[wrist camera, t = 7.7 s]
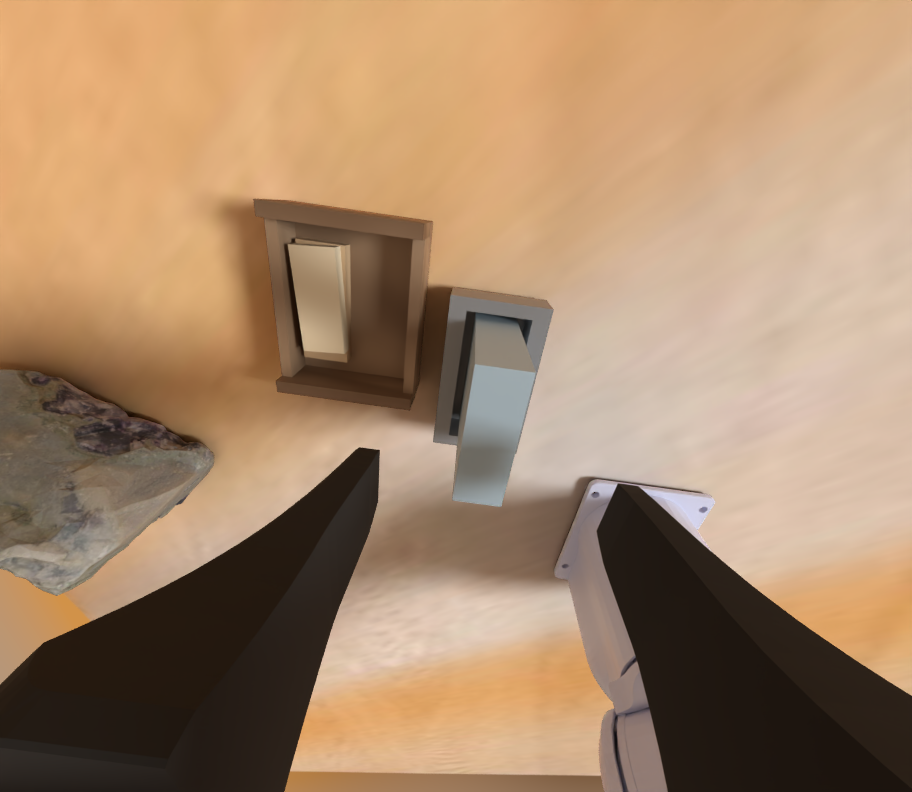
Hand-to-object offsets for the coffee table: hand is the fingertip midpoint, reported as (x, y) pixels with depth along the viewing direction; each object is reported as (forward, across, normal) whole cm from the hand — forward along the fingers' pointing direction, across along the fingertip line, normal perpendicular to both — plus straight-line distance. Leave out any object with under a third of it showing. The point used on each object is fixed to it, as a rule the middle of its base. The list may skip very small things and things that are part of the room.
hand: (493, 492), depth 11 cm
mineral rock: (+10, +23, +7) cm, 26 cm away
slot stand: (+10, 0, 0) cm, 10 cm away
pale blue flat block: (+9, 0, 0) cm, 9 cm away
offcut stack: (+9, +8, -2) cm, 12 cm away
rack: (+10, +7, -2) cm, 12 cm away
